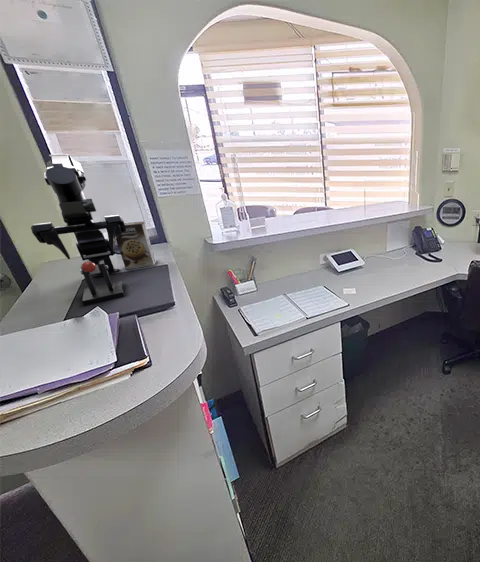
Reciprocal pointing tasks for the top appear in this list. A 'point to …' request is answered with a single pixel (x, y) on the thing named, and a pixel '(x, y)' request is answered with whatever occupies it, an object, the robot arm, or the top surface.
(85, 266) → the lever
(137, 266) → the cookie box
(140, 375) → the top surface
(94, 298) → the black lever stand
